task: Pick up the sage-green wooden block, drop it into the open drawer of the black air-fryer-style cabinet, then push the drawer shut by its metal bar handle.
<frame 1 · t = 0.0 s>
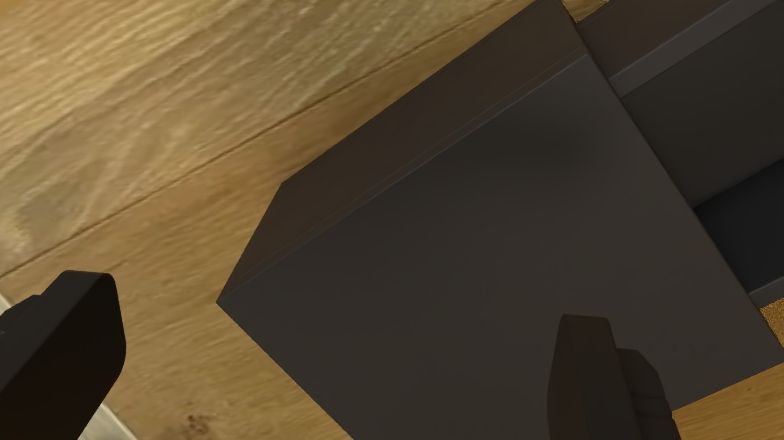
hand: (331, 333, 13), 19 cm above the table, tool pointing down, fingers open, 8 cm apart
cabinet: (488, 202, 33), on the table
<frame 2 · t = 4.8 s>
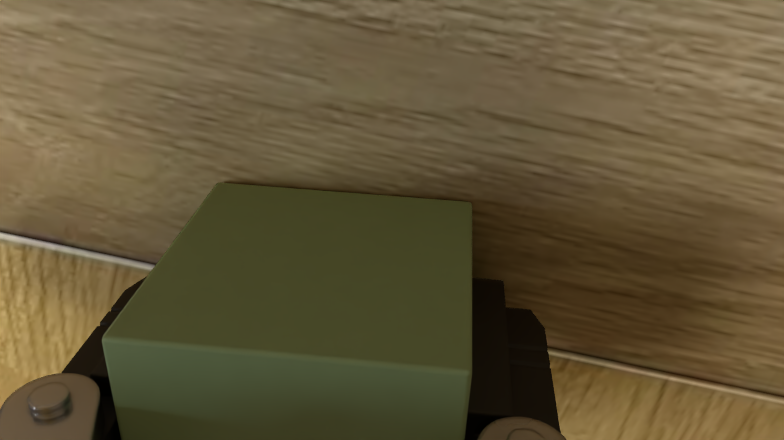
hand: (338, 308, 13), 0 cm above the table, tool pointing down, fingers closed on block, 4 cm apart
block: (342, 297, 14), on the table, touching gripper
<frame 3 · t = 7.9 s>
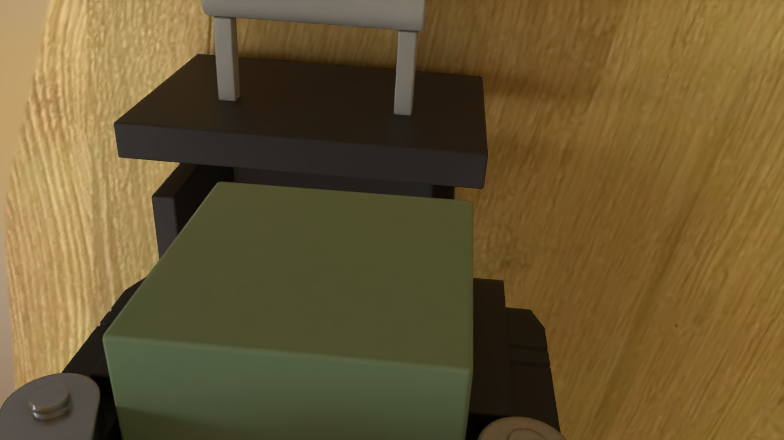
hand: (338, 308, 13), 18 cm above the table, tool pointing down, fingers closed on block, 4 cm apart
drawer: (320, 210, 27), point 5 cm above the table, slide at 8.0 cm
block: (343, 296, 14), point 17 cm above the table, touching gripper
when the fingers open (8 cm above the table, at t = 11.2 s): block drops 6 cm, resting on drawer.
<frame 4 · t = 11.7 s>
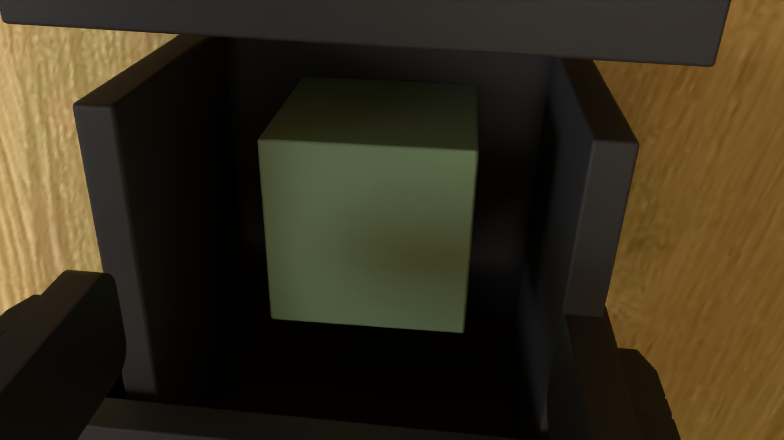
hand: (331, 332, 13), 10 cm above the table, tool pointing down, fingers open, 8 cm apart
drawer: (371, 148, 16), point 5 cm above the table, slide at 8.0 cm, touching block
cabinet: (380, 397, 26), on the table
block: (388, 160, 20), point 2 cm above the table, touching drawer
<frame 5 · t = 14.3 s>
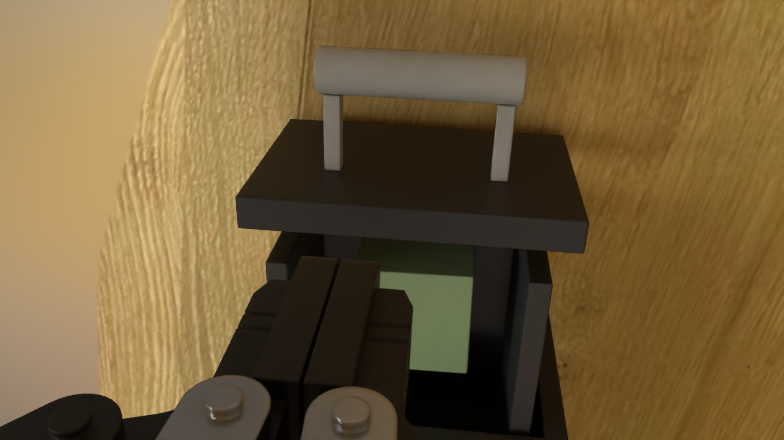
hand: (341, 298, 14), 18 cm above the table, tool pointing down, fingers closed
drawer: (412, 267, 29), point 5 cm above the table, slide at 8.0 cm, touching block
cabinet: (411, 409, 38), on the table
block: (419, 263, 32), point 2 cm above the table, touching drawer
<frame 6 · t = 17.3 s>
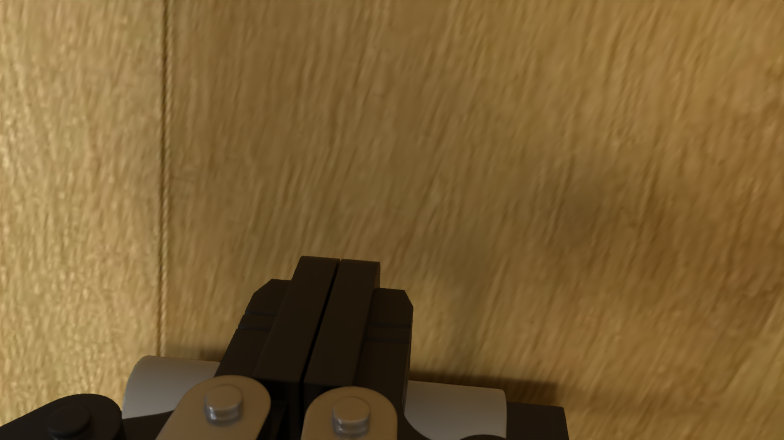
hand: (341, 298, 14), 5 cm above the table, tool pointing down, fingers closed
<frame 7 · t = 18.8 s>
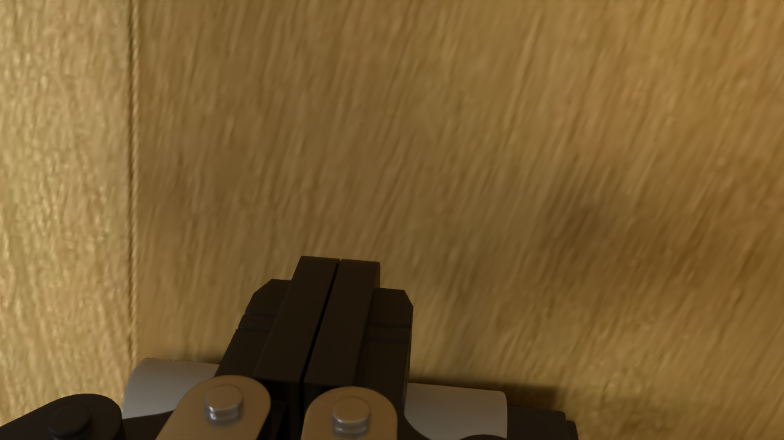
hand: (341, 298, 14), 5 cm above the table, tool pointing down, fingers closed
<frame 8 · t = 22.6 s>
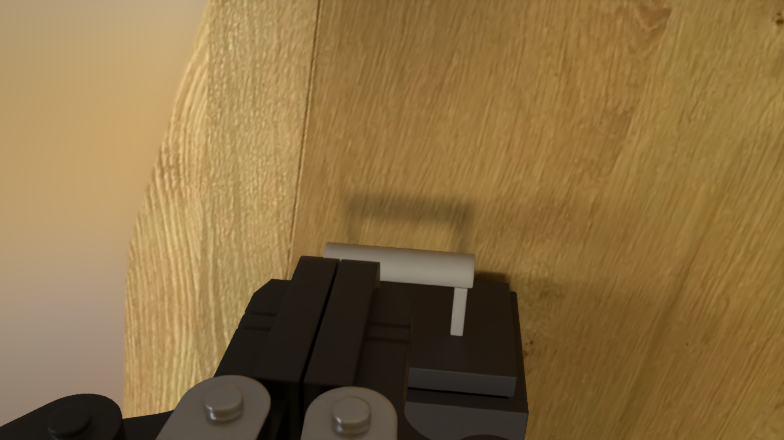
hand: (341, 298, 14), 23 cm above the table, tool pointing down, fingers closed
drawer: (394, 385, 38), point 5 cm above the table, slide at 0.0 cm, touching block, cabinet
cabinet: (399, 381, 44), on the table
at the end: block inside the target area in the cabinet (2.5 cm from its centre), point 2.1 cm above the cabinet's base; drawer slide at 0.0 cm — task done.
